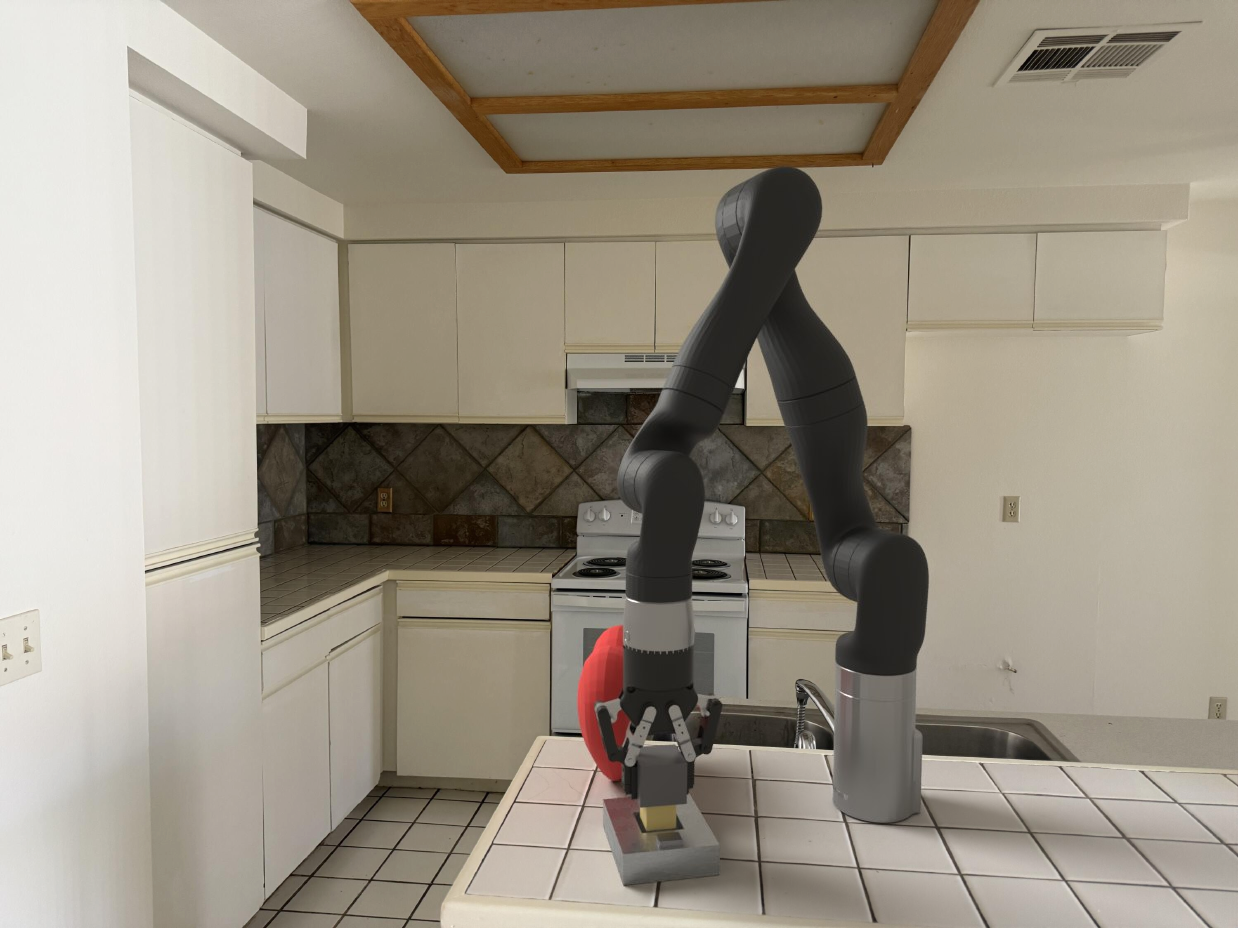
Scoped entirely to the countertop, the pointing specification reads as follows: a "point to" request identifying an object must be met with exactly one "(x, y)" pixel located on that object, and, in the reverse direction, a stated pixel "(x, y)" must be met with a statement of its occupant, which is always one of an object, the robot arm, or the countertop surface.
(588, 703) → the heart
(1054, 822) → the countertop surface
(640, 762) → the plug
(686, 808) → the socket plate
